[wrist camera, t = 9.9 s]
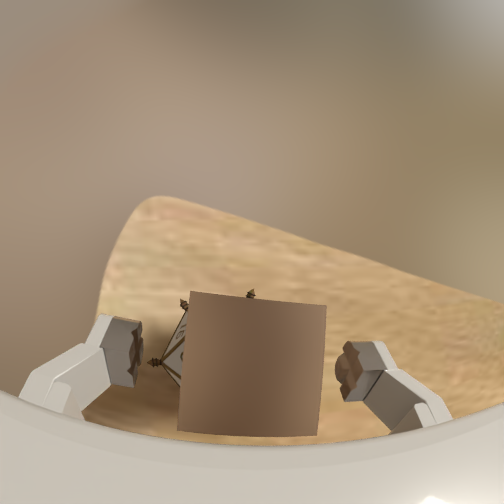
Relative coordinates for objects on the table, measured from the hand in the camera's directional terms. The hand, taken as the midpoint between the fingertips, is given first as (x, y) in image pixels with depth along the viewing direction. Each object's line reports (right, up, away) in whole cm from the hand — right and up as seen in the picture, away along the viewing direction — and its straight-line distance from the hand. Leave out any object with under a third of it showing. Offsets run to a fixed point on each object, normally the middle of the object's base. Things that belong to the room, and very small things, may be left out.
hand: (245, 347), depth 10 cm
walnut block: (-1, -2, +5) cm, 6 cm away
